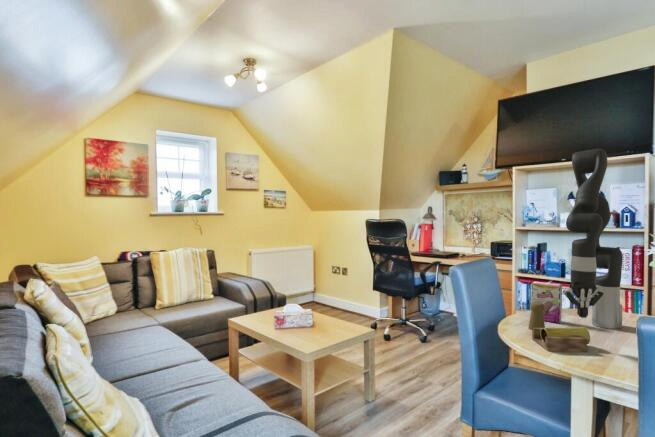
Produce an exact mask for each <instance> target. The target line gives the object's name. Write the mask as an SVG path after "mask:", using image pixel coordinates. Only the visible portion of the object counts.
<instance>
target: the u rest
mask: <svg viewBox="0 0 655 437" xmlns="http://www.w3.org/2000/svg"><path fill="white" fill-rule="evenodd" d="M541 329H542V328H532V330H531V334H532V335H531V338H532V341H534V342H535V343H536V344H537V345H538V346H540V347H541V348H542V349H543V350H546V351H547V352H570V353H571V352H574V353H575V352H576V353H587V352H588V344H587V339H586V338H581V337H545V343H544V342H543V341H542V339H541V335H540V331H541Z"/></svg>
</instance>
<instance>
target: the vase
mask: <svg viewBox="0 0 655 437" xmlns="http://www.w3.org/2000/svg"><path fill="white" fill-rule="evenodd" d="M540 335H541V339H542V341H543V342H544V343H545V337H581V338H586V339H587V345H588V344H590V342H591V334H590V332H589V330H588V329H587V328H586V327H585V326H573V327H571V326H570V327H569V326H568V327H545V328H542V329H541V331H540Z"/></svg>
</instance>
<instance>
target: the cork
mask: <svg viewBox="0 0 655 437" xmlns="http://www.w3.org/2000/svg"><path fill="white" fill-rule="evenodd" d="M529 304H530V305H529V309H530V316H529V321H528V330H530V331H532V328H546V326H545V321H544V317H543V311H544V305H543V304H542V303H539V302H532V303H531V302H530V303H529Z"/></svg>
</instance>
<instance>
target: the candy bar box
mask: <svg viewBox="0 0 655 437" xmlns="http://www.w3.org/2000/svg"><path fill="white" fill-rule="evenodd" d="M530 297H531V302H530V304H531V303H532V302H539V303H542V304H543V305H544V311H543V317H544V322H546V323H547V322H549V323H553V324H560V323H561V322H562V309H563V308H562V306H563V305H562V304H563V303H562V300H563V285H562V284H559V283H550V282H541V281H533V282H532V283H531V296H530Z"/></svg>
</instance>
